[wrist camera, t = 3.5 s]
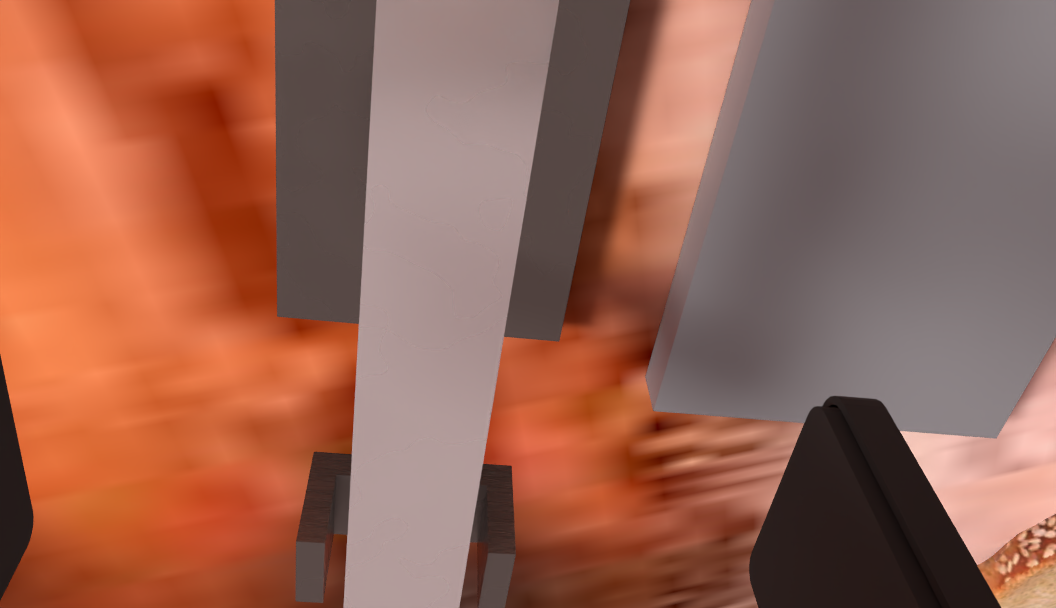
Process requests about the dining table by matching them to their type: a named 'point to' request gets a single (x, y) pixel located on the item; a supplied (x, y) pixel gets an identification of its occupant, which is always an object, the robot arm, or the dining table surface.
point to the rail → (437, 281)
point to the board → (872, 218)
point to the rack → (339, 215)
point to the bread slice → (1025, 568)
